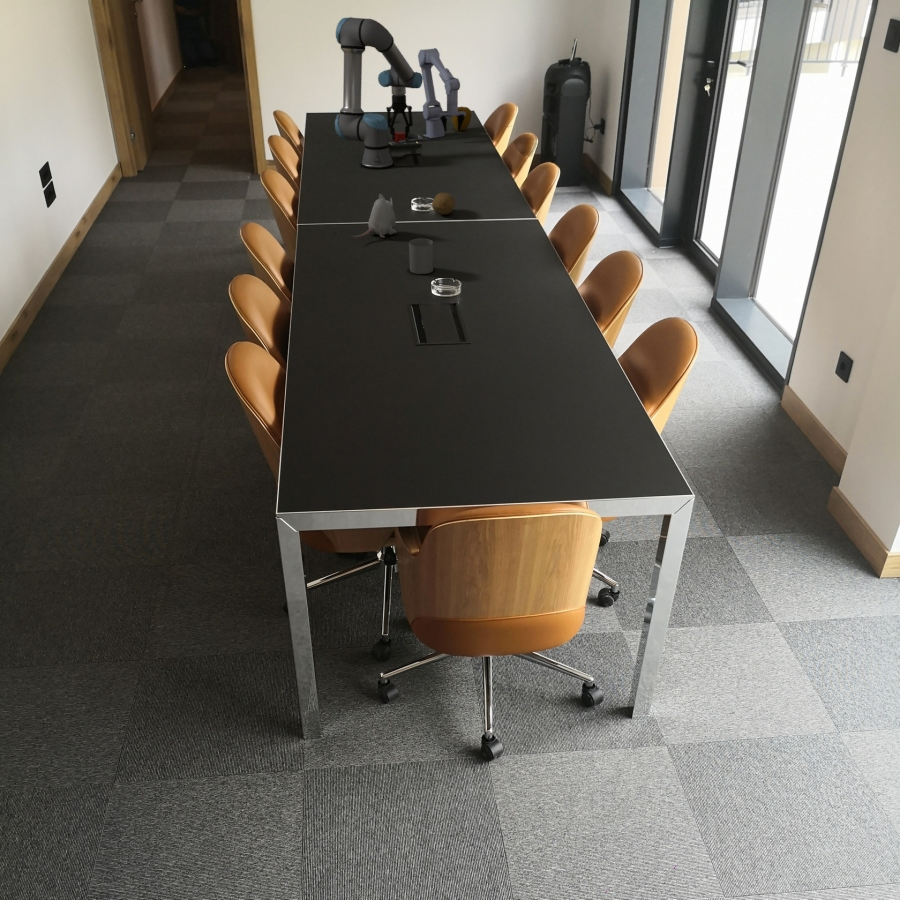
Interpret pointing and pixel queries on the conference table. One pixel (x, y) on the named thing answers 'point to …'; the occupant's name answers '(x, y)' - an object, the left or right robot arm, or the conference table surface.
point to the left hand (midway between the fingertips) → (400, 139)
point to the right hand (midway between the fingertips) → (452, 130)
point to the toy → (381, 218)
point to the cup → (421, 256)
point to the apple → (465, 121)
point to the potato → (443, 203)
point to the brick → (399, 136)
